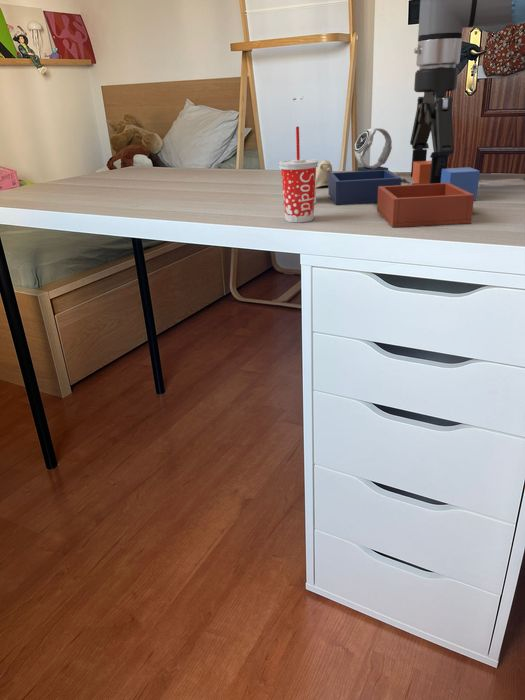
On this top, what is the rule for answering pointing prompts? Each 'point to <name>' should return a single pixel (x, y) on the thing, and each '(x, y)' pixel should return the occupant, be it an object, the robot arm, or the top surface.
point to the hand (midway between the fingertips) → (426, 188)
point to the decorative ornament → (323, 173)
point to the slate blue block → (462, 178)
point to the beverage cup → (298, 186)
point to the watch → (364, 144)
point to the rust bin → (424, 204)
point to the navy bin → (359, 185)
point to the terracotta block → (421, 172)
